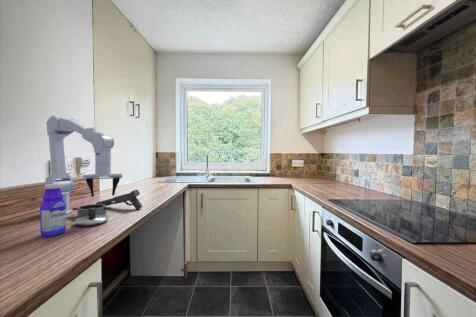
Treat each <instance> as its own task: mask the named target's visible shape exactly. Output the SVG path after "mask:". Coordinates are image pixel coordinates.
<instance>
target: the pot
mask: <svg viewBox="0 0 476 317" xmlns="http://www.w3.org/2000/svg"><path fill="white" fill-rule="evenodd" d="M89 208H96V215H107V210H111V209H112V207H111V206H106V205H103V204H96V203H93V204H86V205H81V206H78V207H72V209H71V210H73V211H77V212H76V213H77V216H76V217H77V218H80V217H84V216H88V209H89Z"/></svg>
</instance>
